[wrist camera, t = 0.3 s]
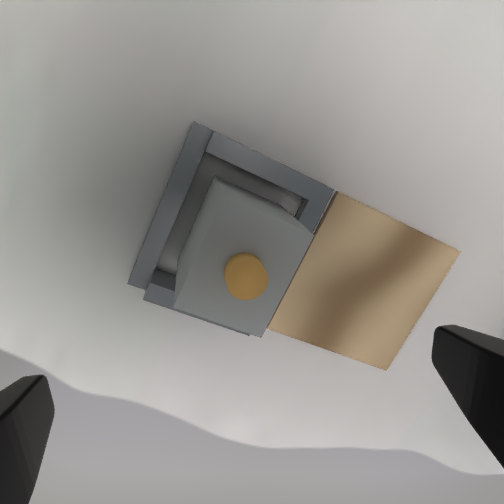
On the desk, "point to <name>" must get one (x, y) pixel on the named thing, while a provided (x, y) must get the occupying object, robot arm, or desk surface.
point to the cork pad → (362, 283)
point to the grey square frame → (197, 142)
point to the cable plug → (238, 258)
